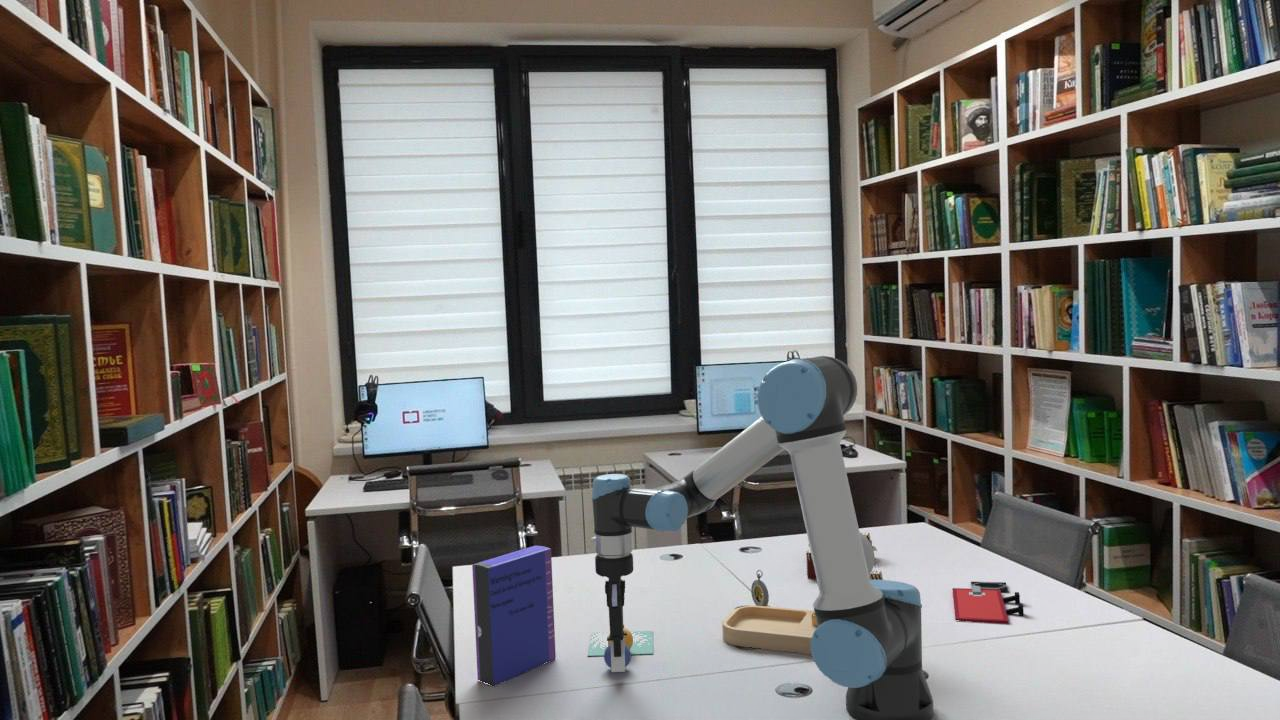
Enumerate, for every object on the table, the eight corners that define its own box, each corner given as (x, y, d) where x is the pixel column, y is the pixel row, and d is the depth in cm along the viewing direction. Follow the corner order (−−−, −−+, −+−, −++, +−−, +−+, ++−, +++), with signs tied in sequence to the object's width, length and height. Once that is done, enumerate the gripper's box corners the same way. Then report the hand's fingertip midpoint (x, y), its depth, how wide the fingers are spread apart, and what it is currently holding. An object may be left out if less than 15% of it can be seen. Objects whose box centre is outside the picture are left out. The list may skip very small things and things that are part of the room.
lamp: (716, 644, 201) (712, 530, 200) (739, 619, 217) (735, 513, 216) (870, 661, 188) (867, 539, 187) (883, 633, 204) (880, 520, 203)
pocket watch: (729, 616, 219) (727, 574, 219) (744, 605, 226) (742, 565, 226) (760, 621, 215) (759, 578, 214) (775, 610, 222) (773, 569, 221)
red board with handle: (1013, 586, 234) (951, 584, 239) (1013, 575, 234) (951, 573, 239) (1026, 627, 206) (955, 624, 210) (1026, 615, 206) (955, 612, 210)
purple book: (539, 654, 199) (535, 544, 198) (555, 659, 196) (550, 547, 195) (477, 681, 185) (472, 563, 184) (493, 686, 182) (488, 567, 181)
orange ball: (632, 638, 194) (632, 621, 199) (606, 638, 194) (607, 622, 199) (633, 659, 196) (633, 641, 201) (607, 659, 196) (608, 642, 201)
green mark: (653, 654, 196) (653, 653, 196) (587, 656, 196) (587, 655, 196) (652, 631, 210) (652, 630, 210) (591, 633, 210) (591, 632, 210)
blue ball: (629, 635, 190) (630, 654, 193) (603, 637, 190) (604, 655, 192) (631, 655, 185) (632, 674, 188) (604, 657, 185) (605, 676, 188)
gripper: (596, 545, 189) (601, 658, 190) (593, 562, 176) (597, 684, 177) (633, 544, 189) (637, 657, 190) (632, 561, 176) (637, 682, 177)
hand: (618, 670), depth 183 cm, fingers closed
